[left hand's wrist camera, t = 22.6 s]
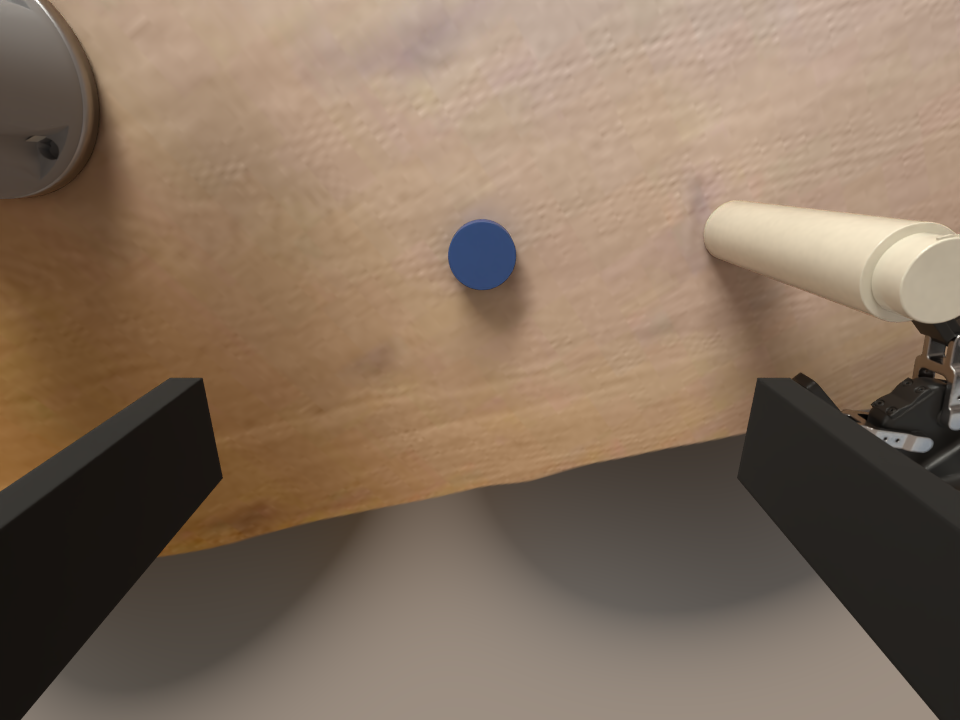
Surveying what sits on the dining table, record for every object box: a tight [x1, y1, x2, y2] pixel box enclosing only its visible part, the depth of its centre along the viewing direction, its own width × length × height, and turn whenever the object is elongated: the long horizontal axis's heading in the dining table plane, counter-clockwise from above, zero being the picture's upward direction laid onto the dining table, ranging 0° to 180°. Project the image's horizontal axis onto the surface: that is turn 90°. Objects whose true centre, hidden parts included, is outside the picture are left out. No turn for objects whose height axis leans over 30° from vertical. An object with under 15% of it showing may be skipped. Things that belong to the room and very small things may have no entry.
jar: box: [704, 200, 960, 324], centre depth 31 cm, size 5×5×19 cm
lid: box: [448, 219, 516, 290], centre depth 39 cm, size 5×5×2 cm
